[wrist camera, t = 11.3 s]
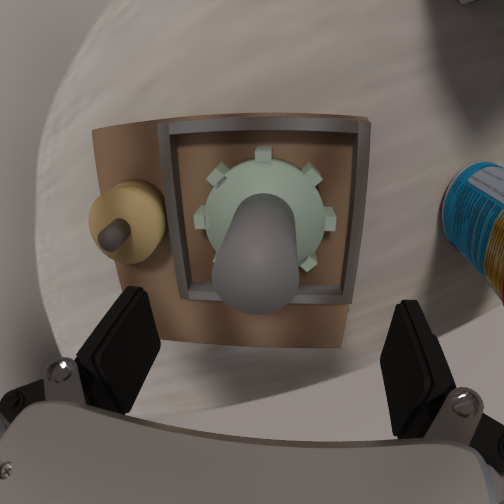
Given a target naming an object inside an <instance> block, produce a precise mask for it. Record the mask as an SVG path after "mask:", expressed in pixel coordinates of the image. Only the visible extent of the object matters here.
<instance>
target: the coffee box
mask: <svg viewBox="0 0 504 504" xmlns="http://www.w3.org/2000/svg"><path fill="white" fill-rule="evenodd" d="M475 1H478V0H459V2H460V3H461V4H462V5H467V4H470V3H473V2H475Z"/></svg>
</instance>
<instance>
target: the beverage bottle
mask: <svg viewBox="0 0 504 504" xmlns="http://www.w3.org/2000/svg"><path fill="white" fill-rule="evenodd" d="M442 223H443V228H444V232H445V234H446V236H447V238H448V240H449V242H450V243H451V244H452V245H453V246H454V247H455V249H456V250H457V251H458V252H460V253H461V254H462V255H464V256H465V257H466V258H467V260H468V261H469V262H470V263H471V264H472V265H473V266H474V267H475V268H476V270H477V271H478V272H479V273H480V274H481V275H482V277H483V278H484V279H485V280H486V281H487V283H488V284H489V285H490V286H491V288H492V289H493V290H494V291H495V293H496V294H497V295H498V296H499V298H500V299H501V300H502V302H503V305H504V168H503V167H501V166H499V165H496V164H494V163H491V162H485V161H482V162H476V163H473V164H470V165H468V166H467V167H465V168H464V169H462V170H461V171H460V172H459V173H458V174H457V175H456V176H455V177H454V179H453V180H452V182H451V183H450V185H449V187H448V189H447V191H446V194H445V197H444V201H443V206H442Z"/></svg>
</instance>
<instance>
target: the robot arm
mask: <svg viewBox="0 0 504 504" xmlns="http://www.w3.org/2000/svg"><path fill="white" fill-rule="evenodd" d="M160 346H161V342H160V338H159V335H158V331H157V327H156V324H155V320H154V316H153V312H152V308H151V305H150V301H149V296H148V293H147V291H144V289H143V288H142V287H138V286H127V287H126V288H125V290H124V291H123V292H122V294H121V295H120V296H119V297H118V299H117V300H116V301H115V303H114V304H113V305H112V307H111V308H110V309H109V310H108V312H107V313H106V314H105V316H104V317H103V318H102V320H101V321H100V322H99V324H98V325H97V327H96V328H95V329H94V331H93V332H92V333H91V335H90V336H89V337H88V339H87V340H86V342H85V343H84V344H83V346H82V347H81V349H80V350H79V351H78V353H77V354H76V355H77V357H76V359H75V360H73V359H71V358H66V357H63V358H58V359H56V360H54V361H52V362H51V363H49V364H48V366H47V367H46V368H45V370H44V375H43V379H41V380H38V381H36V382H33V383H30V384H27V385H25V386H22V387H19V388H16V389H14V390H11V391H9V392H7V393H6V394H5V395H4V396H3V398H2V399H1V401H0V504H504V425H502V424H501V423H499V422H497V421H495V420H494V419H492V418H491V417H489V416H487V415H486V414H484V413H483V409H484V406H483V401H482V399H481V397H480V396H479V395H478V393H477V392H475V391H474V390H472V389H469V388H467V387H459V388H456V385H455V382H454V379H453V377H452V374H451V371H450V369H449V366H448V363H447V361H446V359H445V356H444V353H443V351H442V348H441V346H440V344H439V341H438V339H437V337H436V336H435V335H434V334H432V332H431V330H430V327H429V325H428V323H427V320H426V318H425V316H424V314H423V311H422V309H421V307H420V305H419V303H418V301H417V300H402V301H401V303H400V304H397V305H396V307H395V311H394V314H393V318H392V321H391V324H390V328H389V331H388V334H387V338H386V341H385V344H384V347H383V350H382V353H381V357H380V365H381V370H382V375H383V380H384V385H385V391H386V396H387V402H388V407H389V413H390V419H391V425H392V432H393V435H394V436H397V438H398V439H394V440H377V441H348V442H312V441H286V440H271V439H259V438H248V437H240V436H231V435H223V434H216V433H210V432H203V431H197V430H191V429H185V428H180V427H175V426H170V425H165V424H160V423H156V422H151V421H147V420H143V419H139V418H135V417H131V416H127V415H125V414H126V413H129V412H130V410H131V408H132V406H133V404H134V402H135V400H136V398H137V395H138V393H139V391H140V389H141V387H142V385H143V383H144V381H145V379H146V377H147V375H148V373H149V371H150V368H151V366H152V364H153V362H154V360H155V358H156V356H157V354H158V352H159V350H160Z"/></svg>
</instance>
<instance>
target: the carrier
mask: <svg viewBox="0 0 504 504" xmlns="http://www.w3.org/2000/svg"><path fill="white" fill-rule="evenodd" d="M370 131H371V122H369V121H368V118H366V117H358V116H346V115H330V114H308V113H240V114H218V115H202V116H189V117H178V118H168V119H159V120H151V121H143V122H136V123H129V124H123V125H116V126H110V127H105V128H99V129H95V130H92V137H93V146H94V154H95V161H96V168H97V175H98V181H99V187H100V193H101V195H100V196H99V197H98V198H97V199H96V200H95V201H94V203H93V205H92V206H91V209H90V213H89V228H90V232H91V235H92V238H93V240H94V242H95V243H96V245H97V246H98V247H99V249H100V250H101V251H102V252H103V253H104V254H105V255H107V256H108V257H109V258H111V259H113V260H115V265H116V269H117V272H118V276H119V280H120V284H121V288H122V291H124V290H125V288H126V287H127V286H138V287H142V288H143V289H144V291H147V293H148V296H149V301H150V305H151V308H152V312H153V316H154V320H155V324H156V327H157V331H158V335H159V338H160V339H162V340H171V341H181V342H192V343H204V344H218V345H233V346H252V347H278V348H341V343H342V338H343V333H344V328H345V323H346V318H347V313H348V307H349V304H351V302H352V297H353V291H354V285H355V279H356V273H357V266H358V259H359V252H360V245H361V237H362V229H363V221H364V212H365V202H366V191H367V180H368V167H369V151H370ZM257 146H272V148H273V157H275V158H280V159H283V160H286V161H289V162H291V163H293V164H295V165H296V166H298V167H299V168H301V169H302V168H303V167H304V166H305V165H307V164H308V163H309V162H310V163H311V164H312V165H313V166H314V167H315V168H316V169H317V170H318V171H319V172H320V174H321V177H322V179H323V180H322V181H321V182H319V183H318V184H317V185H316V187H317V189H318V192H319V194H320V197H321V200H322V203H323V206H324V207H333V210H334V212H335V215H336V229H335V231H324V234H323V238H322V240H321V242H320V245H319V246H318V248H317V250H316V251H315V252H316V257H317V263H318V264H317V265H315V266H314V267H313V268H312V269H310V270H309V271H308V272H306V271H305V270H304V269H303V268H302V267H301V266H299V267H298V271H299V285H298V289H297V292H296V294H295V296H294V297H293V299H292V300H291V301H290V302H289V303H288V304H287V305H286V306H284V307H283V308H281V309H280V310H278V311H275V312H272V313H269V314H263V315H253V314H246V313H243V312H240V311H237V310H235V309H233V308H231V307H230V306H228V305H227V304H226V303H225V302H223V301H222V299H221V298H220V297H219V296H218V294H217V293H216V291H215V289H214V286H213V283H212V268H213V265H214V262H213V259H214V256H215V254H216V251H215V249H214V248H213V246H212V245H211V243H210V241H209V239H208V236H207V233H206V230H205V229H195V225H194V214H195V212H196V211H197V210H198V208H199V207H200V206H201V205H206V202H207V199H208V196H209V194H210V192H211V191H212V189H213V187H214V186H213V185H212V184H211V183H209V182H208V181H207V180H206V178H207V177H208V176H209V175H210V174H211V172H212V171H213V170H214V169H215V168H216V167H217V166H218V165H219V164H220V163H221V162H222V163H224V164H225V165H226V166H227V167H228V168H229V169H230V168H231V167H233V166H234V165H236V164H238V163H240V162H242V161H244V160H247V159H250V158H255V150H256V148H257Z"/></svg>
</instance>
